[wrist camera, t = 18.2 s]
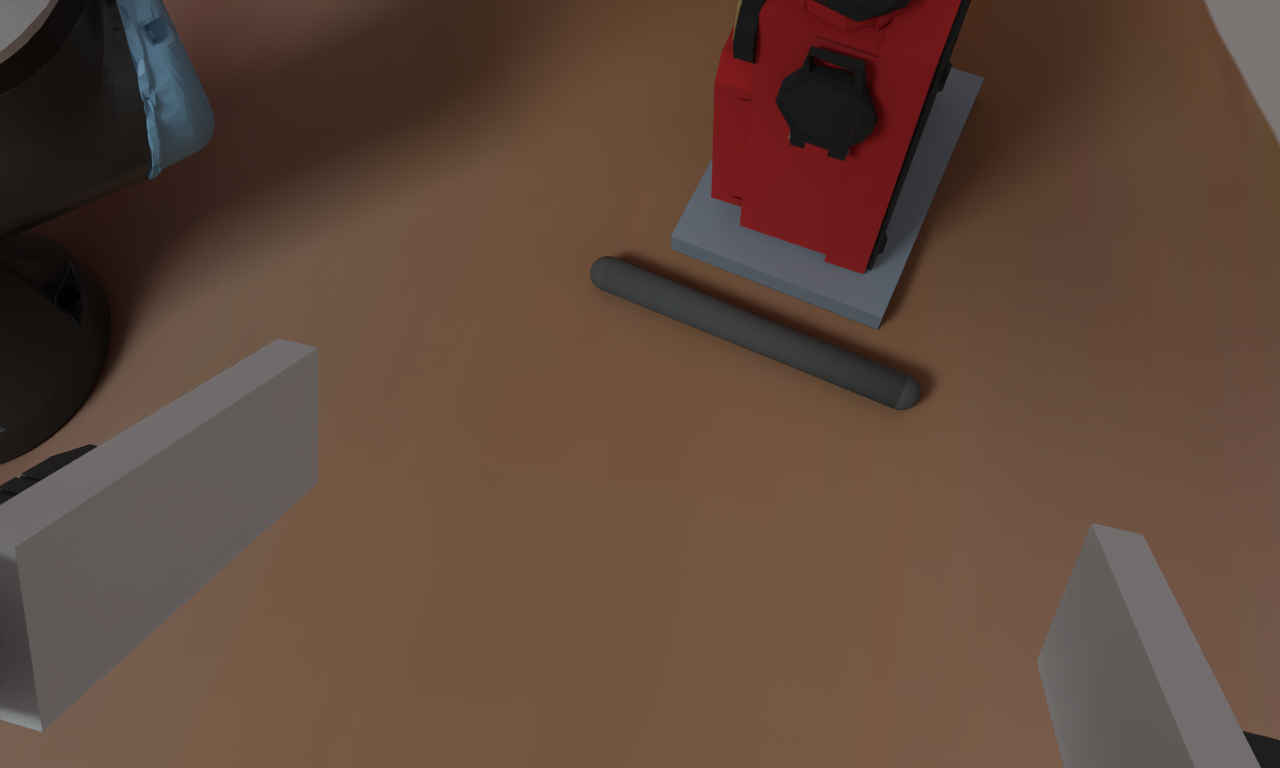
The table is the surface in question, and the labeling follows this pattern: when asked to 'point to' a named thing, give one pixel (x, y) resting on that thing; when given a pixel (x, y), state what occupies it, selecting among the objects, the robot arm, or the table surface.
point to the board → (803, 272)
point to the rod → (756, 333)
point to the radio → (827, 115)
